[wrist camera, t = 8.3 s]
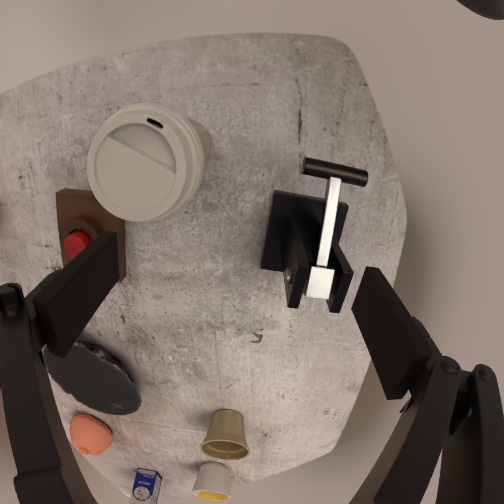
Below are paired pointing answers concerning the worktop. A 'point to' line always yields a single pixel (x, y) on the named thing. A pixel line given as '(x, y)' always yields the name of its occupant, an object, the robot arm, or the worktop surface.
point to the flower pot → (226, 437)
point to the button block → (87, 221)
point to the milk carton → (146, 487)
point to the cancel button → (76, 243)
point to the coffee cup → (147, 162)
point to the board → (94, 378)
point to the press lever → (327, 221)
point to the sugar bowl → (90, 434)
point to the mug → (212, 482)
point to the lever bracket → (303, 246)
